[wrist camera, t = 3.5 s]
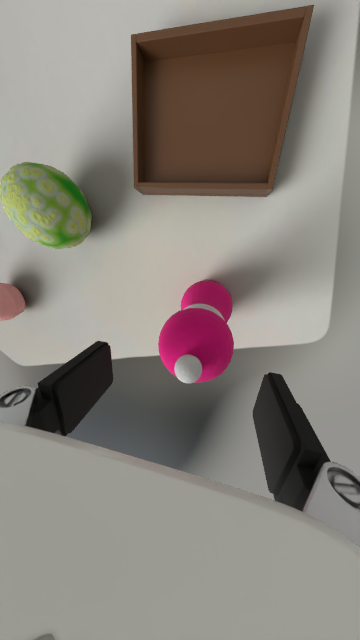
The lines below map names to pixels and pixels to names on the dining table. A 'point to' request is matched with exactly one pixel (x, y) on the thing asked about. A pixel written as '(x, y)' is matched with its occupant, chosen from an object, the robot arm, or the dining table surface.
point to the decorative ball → (45, 205)
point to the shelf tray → (215, 103)
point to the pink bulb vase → (10, 302)
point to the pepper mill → (199, 334)
